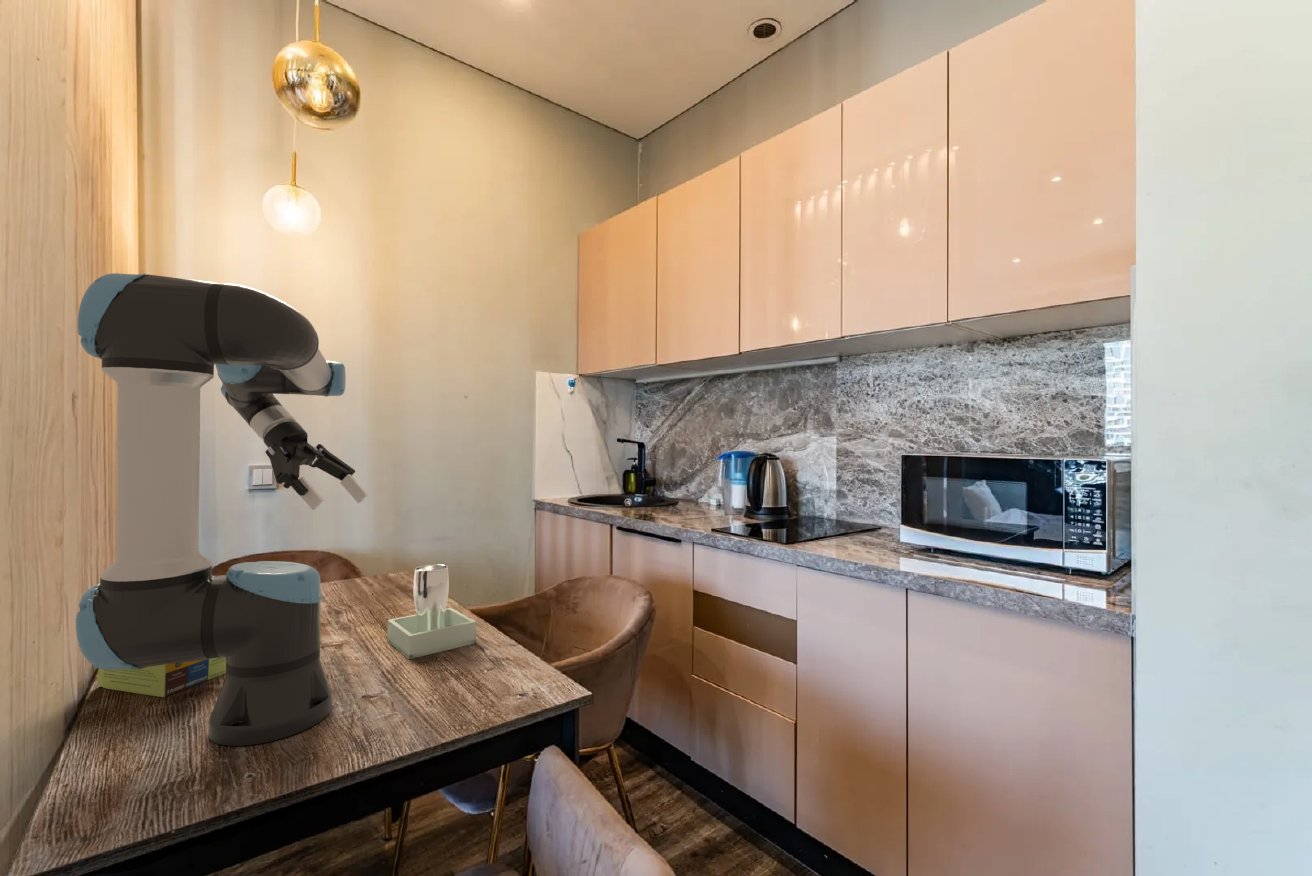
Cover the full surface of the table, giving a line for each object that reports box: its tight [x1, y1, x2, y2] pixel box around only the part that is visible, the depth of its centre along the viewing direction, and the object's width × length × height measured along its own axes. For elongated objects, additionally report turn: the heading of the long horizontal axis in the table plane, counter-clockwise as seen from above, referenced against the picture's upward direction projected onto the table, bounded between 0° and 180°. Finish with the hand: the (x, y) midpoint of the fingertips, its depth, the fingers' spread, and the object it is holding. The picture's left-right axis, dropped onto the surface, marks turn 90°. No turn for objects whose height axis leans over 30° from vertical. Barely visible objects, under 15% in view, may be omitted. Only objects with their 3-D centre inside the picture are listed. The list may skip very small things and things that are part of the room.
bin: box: [386, 607, 477, 660], centre depth 116 cm, size 14×14×4 cm
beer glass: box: [412, 563, 450, 633], centre depth 116 cm, size 7×7×15 cm
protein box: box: [97, 657, 226, 698], centre depth 96 cm, size 10×15×16 cm
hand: (342, 502), depth 116 cm, fingers open, 13 cm apart
